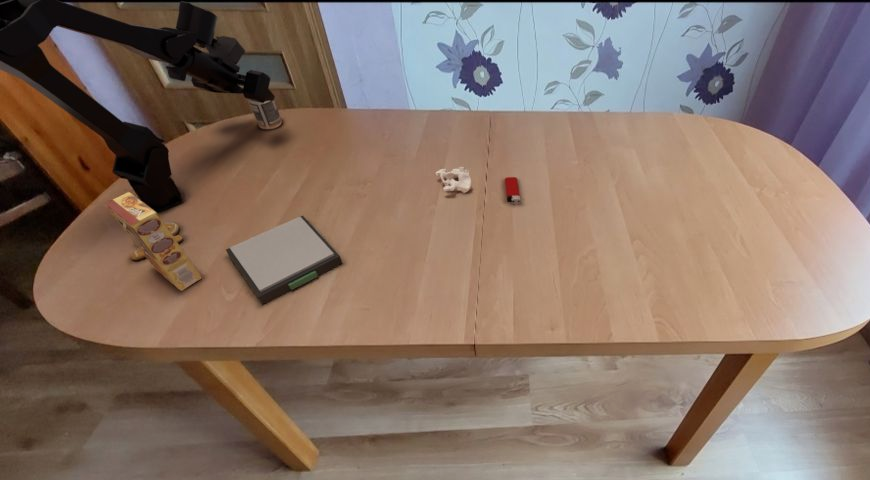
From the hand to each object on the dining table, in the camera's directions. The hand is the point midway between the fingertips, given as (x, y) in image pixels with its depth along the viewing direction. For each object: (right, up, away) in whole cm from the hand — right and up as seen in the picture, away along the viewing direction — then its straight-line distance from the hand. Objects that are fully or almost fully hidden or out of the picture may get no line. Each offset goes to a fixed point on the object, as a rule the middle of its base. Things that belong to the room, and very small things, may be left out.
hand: (258, 94), depth 113 cm
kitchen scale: (+19, -41, -27) cm, 53 cm away
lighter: (+61, -26, -11) cm, 68 cm away
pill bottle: (0, -5, +6) cm, 8 cm away
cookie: (-6, -38, -24) cm, 45 cm away
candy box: (+1, -44, -29) cm, 53 cm away
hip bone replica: (+49, -24, -10) cm, 55 cm away
